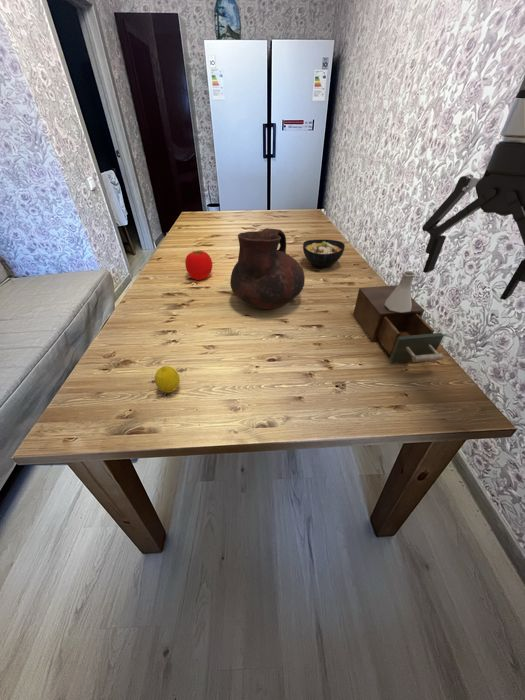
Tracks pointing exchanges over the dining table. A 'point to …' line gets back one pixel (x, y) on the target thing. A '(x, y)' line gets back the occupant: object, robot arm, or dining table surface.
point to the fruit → (167, 379)
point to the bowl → (323, 252)
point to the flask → (401, 294)
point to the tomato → (198, 264)
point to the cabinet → (377, 308)
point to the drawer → (409, 338)
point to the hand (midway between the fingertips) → (463, 283)
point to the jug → (265, 270)
